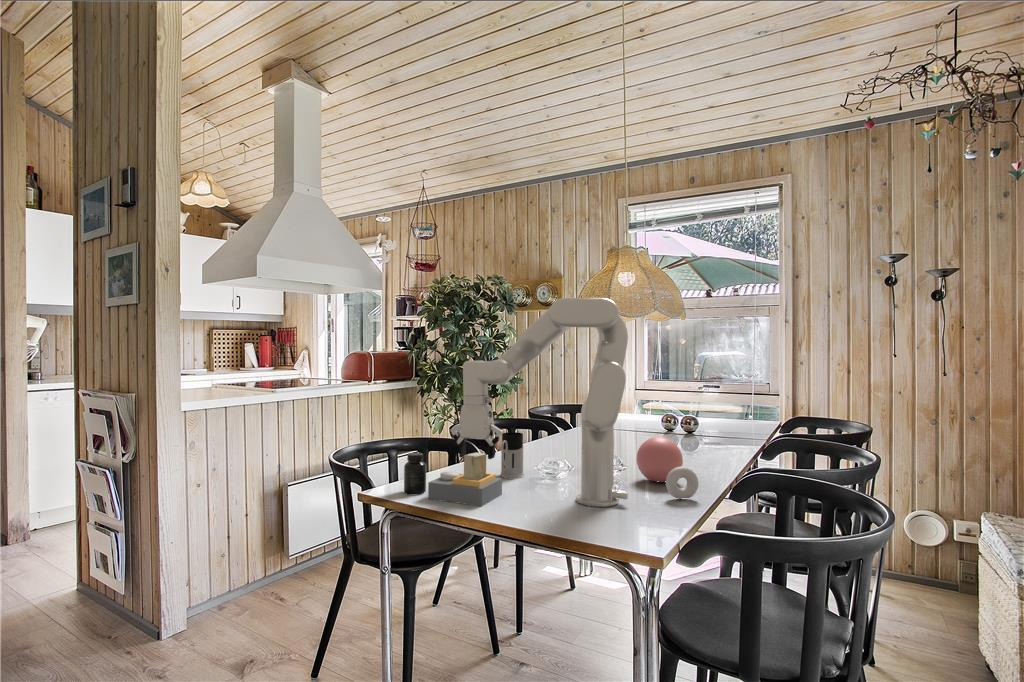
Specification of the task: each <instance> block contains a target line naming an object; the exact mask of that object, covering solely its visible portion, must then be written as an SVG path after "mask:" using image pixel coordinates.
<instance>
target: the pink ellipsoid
mask: <svg viewBox="0 0 1024 682" xmlns="http://www.w3.org/2000/svg"><path fill="white" fill-rule="evenodd" d="M683 463H684V460H683V454H682V452H681V449H680V448H679V446H678V445H677V444H676V442H674V441H672V440H671V439H669V438H666V437H662V436H654V437H651V438H648V439H646V440H645V441H643V442H642V443H641V445H640V446H639V448H638V450H637V453H636V465H637V468H638V470H639V472H640V473H641V474H642V475H643V476H644V477H645V478H646V480H647V479H648V480H649V481H651V480H652V481H651V482H653V481H659V482H664V483H666V482H665V481H666V478H667V476H668V474H669V472H670V471H671V470H673V469H674V468H676V467H683Z"/></svg>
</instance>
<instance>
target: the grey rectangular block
mask: <svg viewBox="0 0 1024 682" xmlns="http://www.w3.org/2000/svg"><path fill="white" fill-rule="evenodd" d="M496 476H497V475H496V473H489V472H486V477H485V478H483V479H481V480H479V481H476V480H467V479H464V473H460V472H459V471H443V472H440V477H438V478H435V479H433V480H431V481H428V483H427V484H428V488H427V489H428V492H427V493H428V494H427V496H428V497H427V499H428V498H429V499H428V500H432V499H435V500H434V501H439V500H442V501H441V502H447V501H451V502H450V503H454V502H459V503H458V504H461V503H465V504H464V505H469V504H472V505H471V506H476V505H478V506H477V507H483V506H484V505H487V504H488V503H490V502H492V501H493V500H496V499H497V498H499V497H500V496H502V495H503V477H496ZM486 503H487V504H486Z"/></svg>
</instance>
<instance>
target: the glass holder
mask: <svg viewBox="0 0 1024 682" xmlns="http://www.w3.org/2000/svg"><path fill="white" fill-rule="evenodd" d="M500 453H501V462H500V463H501V467H500V469H501V471H500V475H499V476H502V477H501V478H503V477H506V478H505V479H509V478H516V479H519V478H518V477H522V476H524V477H525V474H524V434H523V433H522V432H514V431H513V432H510V431H509V432H503V434H502V436H501V448H500ZM522 478H523V477H522Z"/></svg>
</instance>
